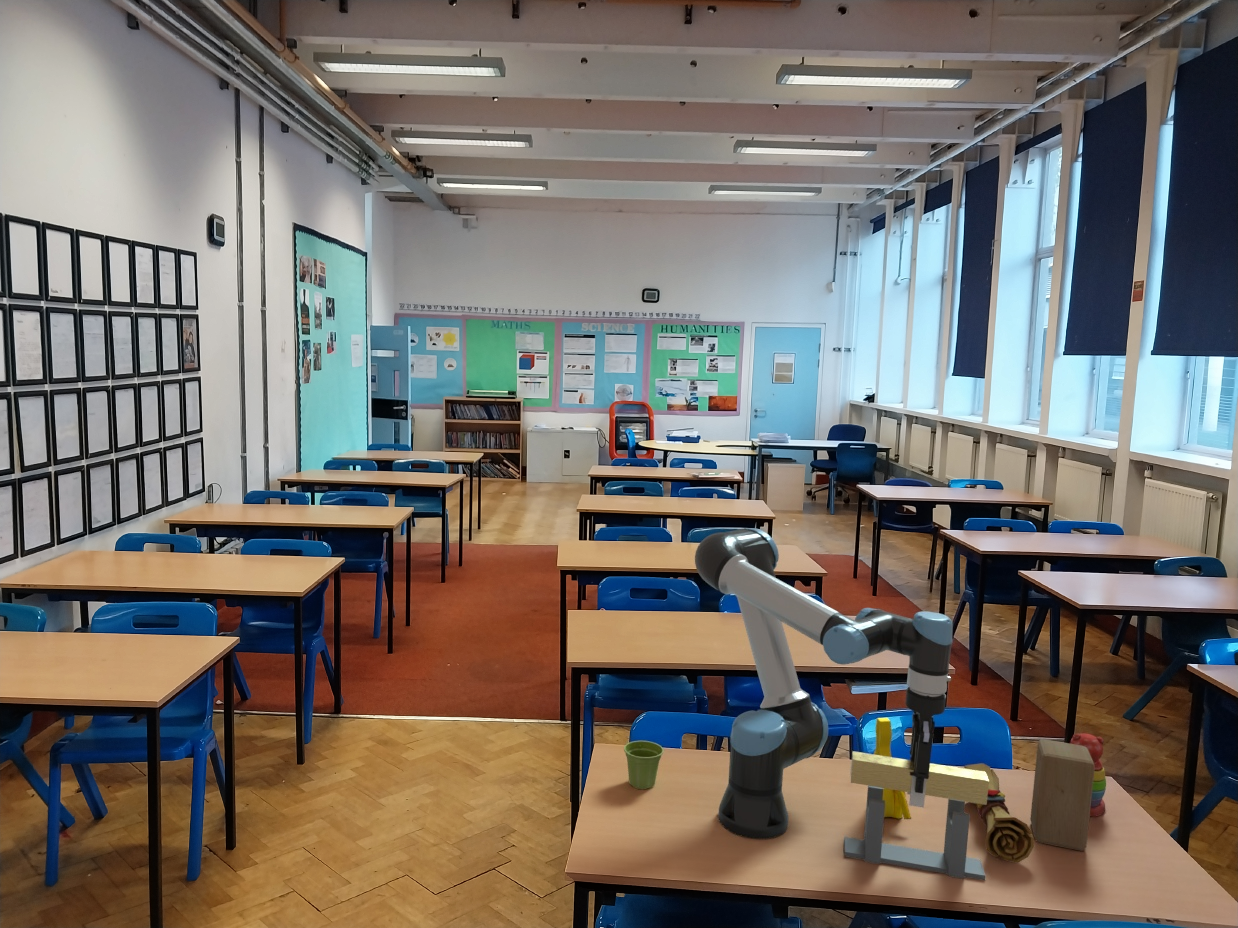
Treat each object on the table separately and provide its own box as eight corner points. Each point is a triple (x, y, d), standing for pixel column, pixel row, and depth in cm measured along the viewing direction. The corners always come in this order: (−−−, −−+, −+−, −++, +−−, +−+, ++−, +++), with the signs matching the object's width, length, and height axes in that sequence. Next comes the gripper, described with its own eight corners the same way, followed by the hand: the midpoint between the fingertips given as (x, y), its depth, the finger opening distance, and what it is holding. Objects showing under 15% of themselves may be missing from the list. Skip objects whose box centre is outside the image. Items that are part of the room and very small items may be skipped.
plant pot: (624, 772, 208) (626, 738, 207) (663, 776, 206) (665, 742, 205) (619, 790, 198) (621, 755, 197) (659, 795, 197) (661, 759, 196)
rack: (844, 857, 174) (849, 797, 173) (844, 839, 181) (848, 781, 180) (985, 882, 168) (991, 819, 167) (979, 861, 175) (985, 801, 174)
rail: (850, 782, 174) (853, 759, 174) (850, 773, 178) (852, 751, 178) (986, 804, 168) (989, 780, 168) (982, 795, 172) (985, 771, 172)
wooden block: (1034, 843, 183) (1043, 754, 181) (1029, 821, 193) (1037, 736, 191) (1086, 853, 180) (1096, 763, 178) (1078, 830, 189) (1087, 744, 187)
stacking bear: (1102, 801, 203) (1110, 730, 202) (1109, 821, 194) (1118, 747, 192) (1052, 792, 207) (1059, 721, 205) (1057, 811, 198) (1064, 737, 196)
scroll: (1033, 868, 174) (1038, 822, 173) (984, 862, 175) (988, 816, 174) (996, 803, 201) (1000, 763, 200) (953, 798, 202) (957, 758, 201)
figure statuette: (917, 833, 185) (926, 736, 183) (882, 832, 185) (890, 735, 183) (889, 793, 203) (896, 704, 201) (857, 792, 203) (863, 703, 200)
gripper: (952, 708, 162) (939, 824, 164) (940, 677, 178) (930, 783, 181) (910, 702, 164) (899, 817, 166) (903, 672, 180) (893, 777, 183)
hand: (915, 799), depth 174 cm, fingers closed on rail, 4 cm apart
